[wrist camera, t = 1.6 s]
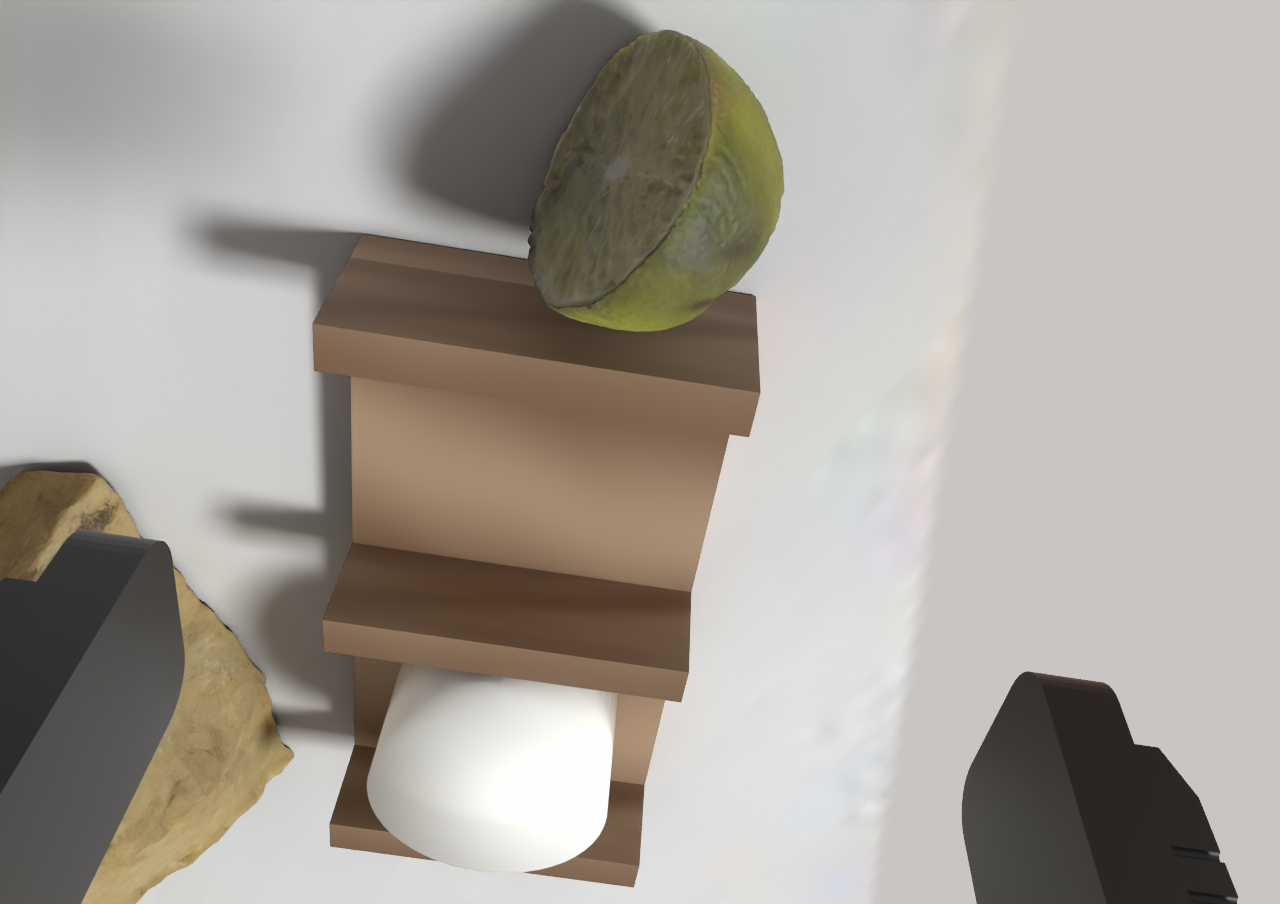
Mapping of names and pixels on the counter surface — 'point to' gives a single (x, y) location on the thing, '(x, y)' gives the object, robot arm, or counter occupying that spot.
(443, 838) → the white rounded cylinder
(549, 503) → the rack
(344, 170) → the counter surface
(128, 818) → the rock
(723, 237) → the lime
